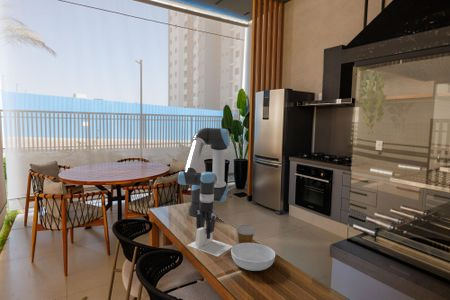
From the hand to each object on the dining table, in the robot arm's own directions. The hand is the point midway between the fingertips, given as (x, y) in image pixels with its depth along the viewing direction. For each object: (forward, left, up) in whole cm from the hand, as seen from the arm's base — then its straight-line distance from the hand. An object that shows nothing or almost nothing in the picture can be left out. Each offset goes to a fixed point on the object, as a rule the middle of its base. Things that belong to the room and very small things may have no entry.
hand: (204, 243), depth 147 cm
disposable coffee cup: (-9, +20, -1) cm, 22 cm away
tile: (+1, 0, 0) cm, 1 cm away
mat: (0, +4, -1) cm, 4 cm away
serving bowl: (+3, +31, -1) cm, 31 cm away
